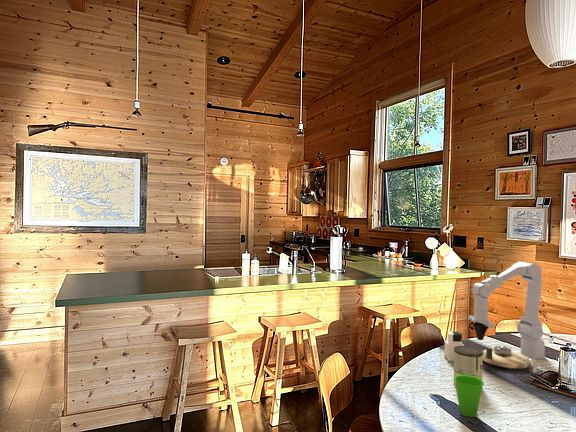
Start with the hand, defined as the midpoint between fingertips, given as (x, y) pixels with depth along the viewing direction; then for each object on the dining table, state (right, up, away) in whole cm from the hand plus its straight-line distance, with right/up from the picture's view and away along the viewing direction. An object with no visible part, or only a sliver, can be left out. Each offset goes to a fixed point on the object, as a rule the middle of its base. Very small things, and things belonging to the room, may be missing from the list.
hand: (480, 339), depth 187 cm
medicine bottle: (-12, -9, 0) cm, 15 cm away
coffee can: (-19, -9, -31) cm, 37 cm away
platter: (+9, -8, -5) cm, 13 cm away
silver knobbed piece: (+14, -9, -13) cm, 21 cm away
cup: (-28, -9, -52) cm, 60 cm away
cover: (+10, -6, 0) cm, 12 cm away
